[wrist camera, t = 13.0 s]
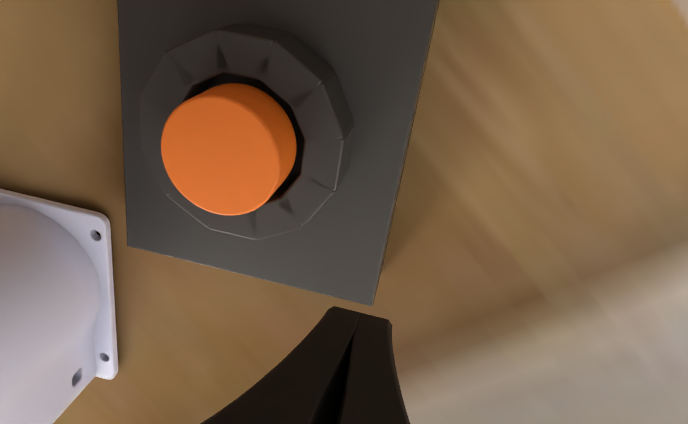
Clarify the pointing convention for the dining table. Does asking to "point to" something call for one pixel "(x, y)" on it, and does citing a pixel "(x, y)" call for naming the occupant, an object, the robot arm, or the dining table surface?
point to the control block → (307, 120)
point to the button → (228, 148)
